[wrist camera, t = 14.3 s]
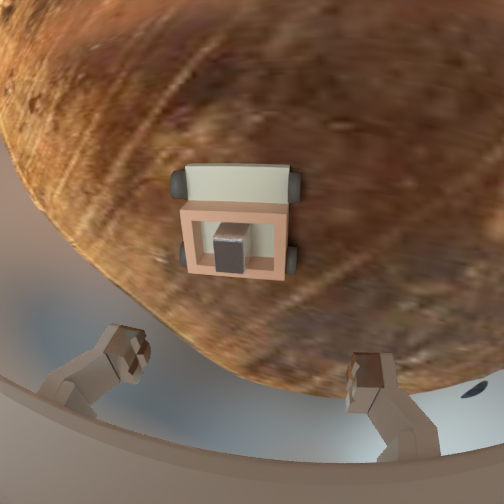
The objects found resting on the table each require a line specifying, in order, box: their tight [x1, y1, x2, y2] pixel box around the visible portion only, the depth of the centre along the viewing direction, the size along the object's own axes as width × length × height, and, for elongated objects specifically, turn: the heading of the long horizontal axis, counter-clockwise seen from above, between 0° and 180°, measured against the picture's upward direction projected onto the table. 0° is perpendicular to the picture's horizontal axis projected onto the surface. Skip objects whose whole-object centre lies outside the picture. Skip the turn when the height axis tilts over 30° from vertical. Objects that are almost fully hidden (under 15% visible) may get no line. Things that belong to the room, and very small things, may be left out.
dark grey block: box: [212, 222, 253, 274], centre depth 43 cm, size 5×4×6 cm
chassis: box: [170, 163, 301, 281], centre depth 44 cm, size 16×17×5 cm
